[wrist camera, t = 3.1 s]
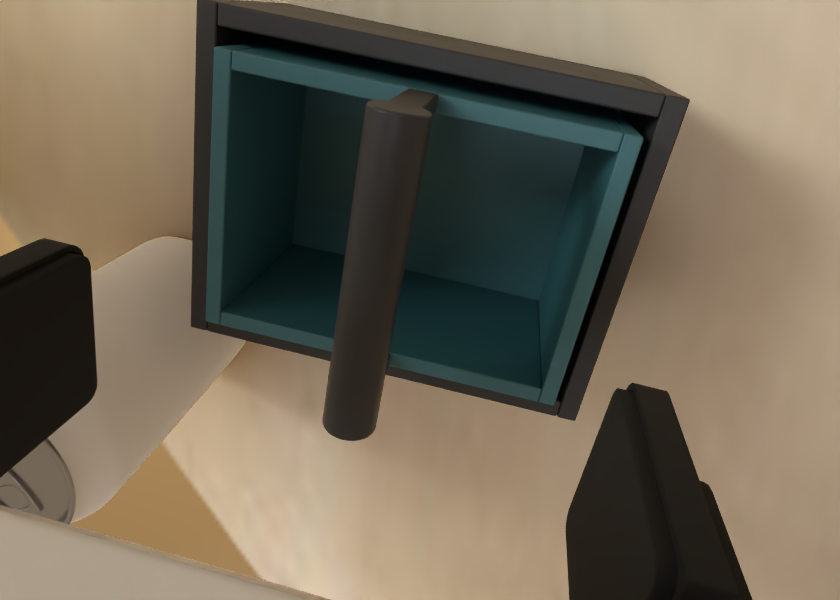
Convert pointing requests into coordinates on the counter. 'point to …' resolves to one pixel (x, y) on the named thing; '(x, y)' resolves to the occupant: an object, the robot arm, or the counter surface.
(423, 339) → the top bin
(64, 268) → the robot arm
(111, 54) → the counter surface
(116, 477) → the can
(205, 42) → the lower bin
